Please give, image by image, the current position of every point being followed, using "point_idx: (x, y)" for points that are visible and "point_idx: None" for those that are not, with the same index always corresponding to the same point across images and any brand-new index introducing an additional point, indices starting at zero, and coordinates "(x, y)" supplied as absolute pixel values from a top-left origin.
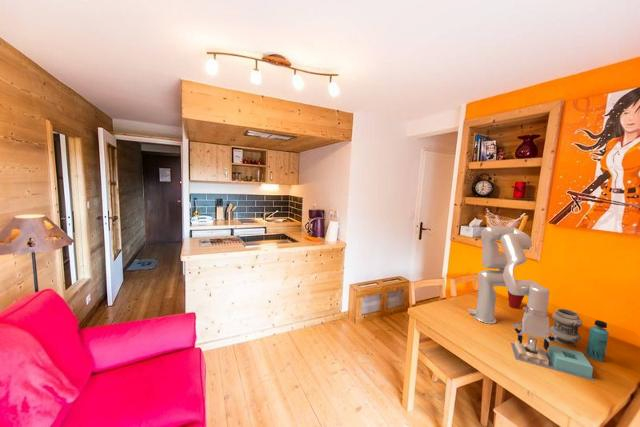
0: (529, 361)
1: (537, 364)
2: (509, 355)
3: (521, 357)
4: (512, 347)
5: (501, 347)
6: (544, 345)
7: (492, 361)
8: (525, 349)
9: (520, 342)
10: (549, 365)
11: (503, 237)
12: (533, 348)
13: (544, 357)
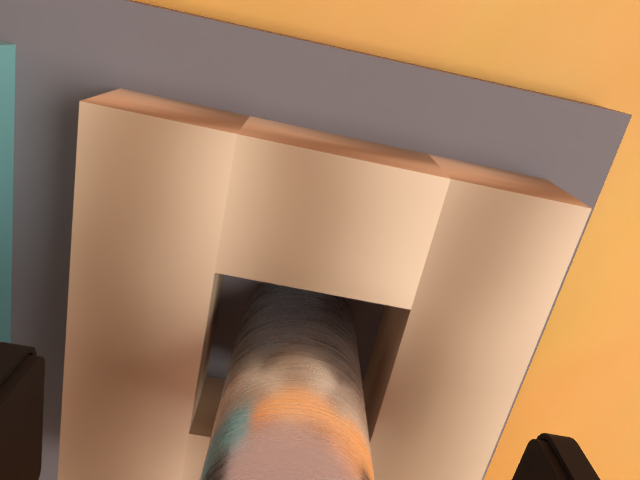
0: (405, 121)
1: (297, 70)
2: (595, 268)
3: (518, 175)
4: None
5: (604, 431)
6: (9, 467)
7: None
8: None
9: (575, 452)
10: None
11: None
12: (285, 368)
13: (125, 211)
